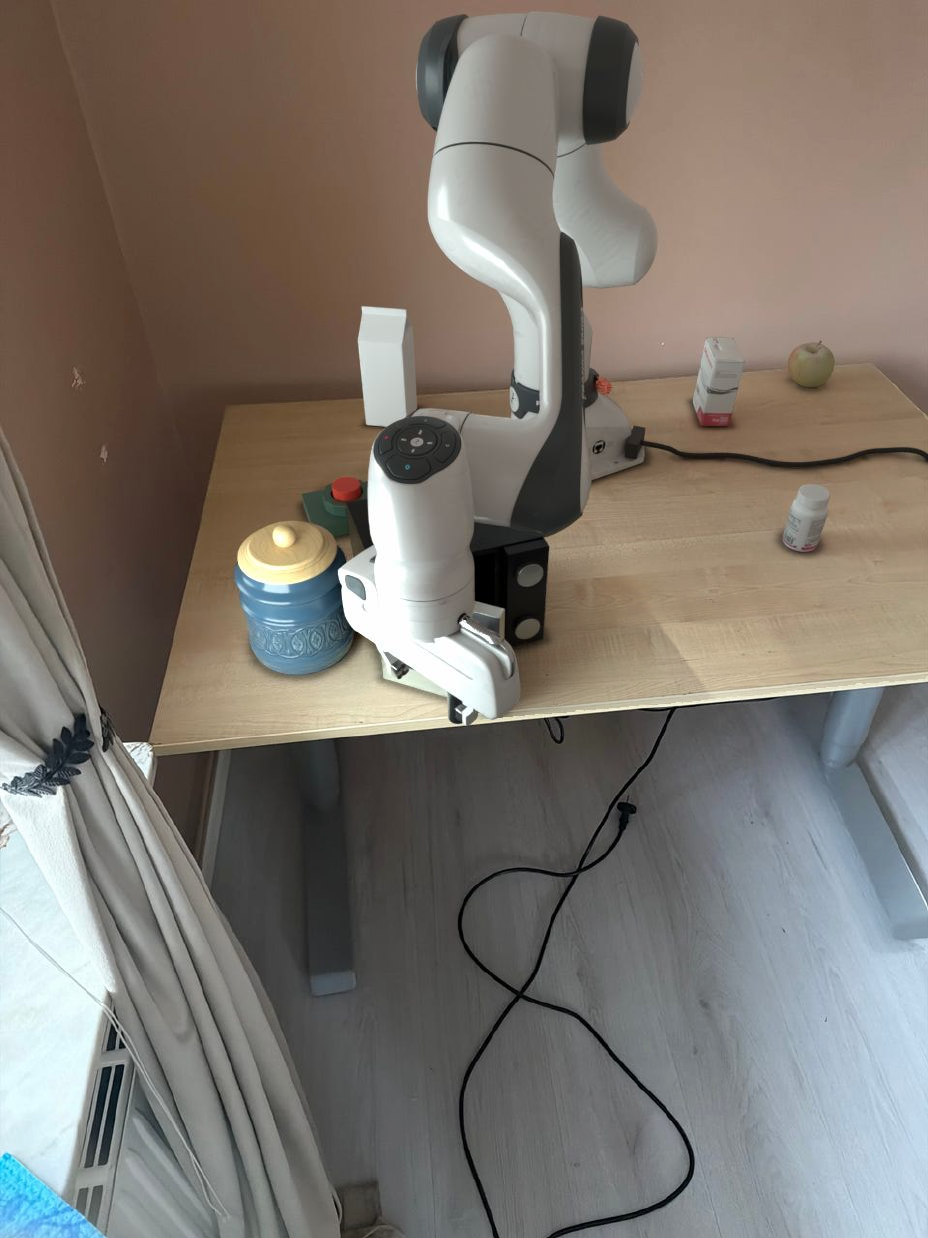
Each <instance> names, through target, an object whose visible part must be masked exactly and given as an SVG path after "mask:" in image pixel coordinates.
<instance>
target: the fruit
mask: <svg viewBox="0 0 928 1238" xmlns="http://www.w3.org/2000/svg"><path fill="white" fill-rule="evenodd" d="M822 342H823V341H822V340H819V342H807V343H802V344H800V345H798V346H796V347H795V348H794V349H793V350H792V351H791V353H790V355H789V356H788V360H787V371H788V374H789V376H790V378H791V380H792V381H794V382H795V383H796V384H798V385H800V386H802V387H805V388H817V387H819V386H822V385H823V384H826V382H828V380H829V379H830V378H831V377H832V374H833V372H834V370H835V356H834V354H833V352H832V351H831V349H830V348H828V347H827V346H826V345H824V344H822Z"/></svg>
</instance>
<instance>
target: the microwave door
mask: <svg viewBox="0 0 928 1238" xmlns="http://www.w3.org/2000/svg"><path fill="white" fill-rule="evenodd" d="M471 618H473V619H475V620H476V621H478V622H479V623H481V624H482V625H483V626H485V627H486V628H487V629H489V630H491V631H495V632H496V633H498V634H499V635H501V636H502V637H503V638H504V628H505V609H503V608H500V607H496V606H492V605H488V604H485V603H481V602H477V601H475V608H474V612H473V615H472V617H471ZM381 660H382V661H381ZM380 661H381V670H382V677H383V679H385V680H388V681H391V682H395V683H398V684H401V685H405V686H408V687H411V688H415V689H418V690H421V691H424V692H428V693H432V694H435V695H438V696H441V697H445V698H446V699H447V700H446V702H447V718H448V721H449V722H450V723H452V724H454V725H462V724H463V723H461V722H460V721H458V720H457V719H456V718H455V716H456V714H455V708H457V707H458V706H459V705H462V703H463V702H462V701H461V700H460V699H458V698H457V697H455V696H454V695H452V694H451V693H449V692H448V691H446V690H445V689H443V688H442V687H440V686H439V685H437V684H436V683H434V682H433V681H431V680H430V679H428V678H427V677H425V676H424V675H422V674H421V673H419V672H418V671H416V670H415V669H413V668H412V667H410V666H409V665H408V666H409V672H408V673H407V674H406V675H404V676H403V677H402V678H401V679H397V678H396V677H394V676H392V675H391V674H389V673H388V671H387V663H386V662H385V660H384V658H383V657H382V655H381V658H380Z"/></svg>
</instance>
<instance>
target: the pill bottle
mask: <svg viewBox="0 0 928 1238" xmlns="http://www.w3.org/2000/svg"><path fill="white" fill-rule="evenodd" d="M830 497H831V493H830V491H829V490H828V489H827V488H826V487H825V486H822V485H820V484H816V483H807V484H803V485H801V486H800V487H799V488H798V491H797V495H796V498H794V500H793V501H792V503H791V505H790V509H789V513H788V516H787V520H786V524H785V527H784V531H783V534H782V542H783V544H784V546H786V547H787V548H789V549H790V550H793V551H796V552H799V553H806V552H807V553H808V552H813V551H814V550H815V549H816V548H817V547H818V545H819V542H820V540H821V536H822V535H823V530H824V528H825V524H826V522H827V521H826V520H827V518H828V514H829V505H828V504H829V501H830Z"/></svg>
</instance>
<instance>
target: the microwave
mask: <svg viewBox="0 0 928 1238" xmlns="http://www.w3.org/2000/svg"><path fill="white" fill-rule="evenodd" d="M346 506H347V514H348V522H349V530H350V534H349V537H350V546H351V553H352V554H351V555H352V558H354V557H355V556H357V555H358V554H360V553H361V552H363V551H364V550H366V549H367V548H369V547H371V546H373V545H374V544H373V541H372V538H371V535H370V526H369V515H368V498H367V499H362V500H357V501H352V502H347V503H346ZM470 550H471V553H472V556H473V559H474V576H475V601H477V602H481V603H485V604H488V605H492V606H496V607H500V608H503V609H505V628H504V639H505V640H506V641H507V642H508V643H509V644H510V646H511V647H515V646H518V645H519V646H520V645H523V644H527V643H531V642H535V641H539V640H540V641H541V640H543V639H544V636H545V635H544V634H545V623H546V621H545V620H546V607H547V606H546V605H547V589H548V574H549V573H548V572H549V559H550V545H549V543H548V541H547V539H546V537H542V536H537V535H533V534H529V533H525V532H521V531H517V530H512V529H511V528H510V527H504V526H497V525H490V524H483V523H477V522H474V532H473V536H472V539H471V542H470ZM374 644H375V643H374ZM375 647H376V650H377V653H378V655H379V658H380V661H381V662H382V660H381V653H380V651H379V650H378V648H377V645H376V644H375Z"/></svg>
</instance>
